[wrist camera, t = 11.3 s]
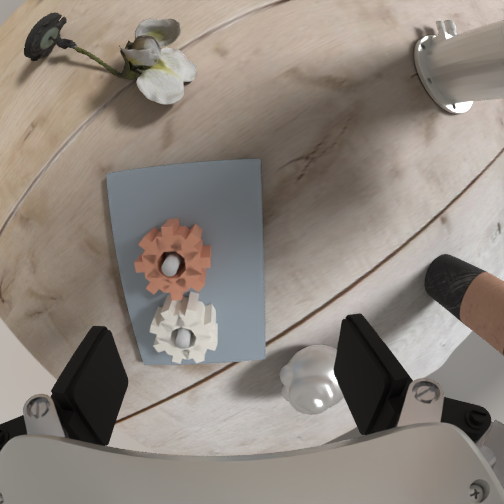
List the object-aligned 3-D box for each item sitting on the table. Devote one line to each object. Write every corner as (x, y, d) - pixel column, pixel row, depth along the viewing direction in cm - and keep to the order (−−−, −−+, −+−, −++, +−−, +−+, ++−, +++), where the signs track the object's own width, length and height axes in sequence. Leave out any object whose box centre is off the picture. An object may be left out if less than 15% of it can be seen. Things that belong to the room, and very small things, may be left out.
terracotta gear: (141, 221, 27) (129, 230, 23) (208, 215, 27) (206, 223, 24) (150, 285, 29) (141, 301, 25) (214, 281, 30) (213, 297, 26)
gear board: (111, 172, 26) (84, 175, 20) (258, 159, 28) (269, 156, 22) (146, 357, 34) (136, 390, 27) (263, 351, 35) (272, 385, 29)
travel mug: (425, 306, 37) (509, 378, 18) (420, 266, 34) (523, 335, 15) (457, 283, 36) (540, 341, 17) (453, 243, 34) (553, 294, 15)
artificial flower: (75, 18, 20) (65, -26, 11) (203, 82, 28) (226, 37, 19) (30, 66, 19) (5, 27, 10) (159, 137, 28) (164, 104, 18)
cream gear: (145, 305, 30) (136, 323, 26) (198, 280, 29) (195, 297, 26) (177, 350, 32) (173, 371, 28) (228, 330, 32) (229, 350, 28)
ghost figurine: (298, 320, 34) (323, 371, 25) (349, 343, 37) (379, 389, 27) (261, 369, 36) (272, 423, 27) (312, 386, 38) (332, 434, 29)
